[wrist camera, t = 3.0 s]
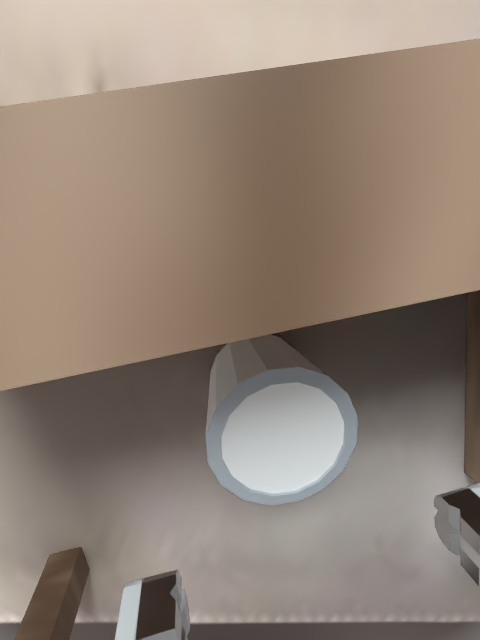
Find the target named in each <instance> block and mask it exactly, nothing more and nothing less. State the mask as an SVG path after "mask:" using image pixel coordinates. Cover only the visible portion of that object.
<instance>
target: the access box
mask: <svg viewBox="0 0 480 640" xmlns="http://www.w3.org/2000/svg"><path fill="white" fill-rule="evenodd" d="M463 293H467V344H466V406H465V468H464V472H465V473H466V474H467V475H468V476H469V477H470V478H472V479H473V480H474V481H475V482H476V483H477V484H478V483H480V39H474V40H467V41H460V42H453V43H446V44H439V45H432V46H425V47H418V48H411V49H404V50H397V51H390V52H383V53H376V54H368V55H361V56H354V57H347V58H340V59H333V60H326V61H319V62H312V63H305V64H298V65H291V66H284V67H277V68H270V69H263V70H256V71H249V72H242V73H235V74H228V75H220V76H213V77H206V78H199V79H192V80H185V81H178V82H171V83H164V84H157V85H150V86H143V87H136V88H129V89H122V90H115V91H108V92H101V93H94V94H87V95H80V96H73V97H65V98H58V99H51V100H44V101H37V102H30V103H23V104H16V105H9V106H2V107H0V391H3V390H8V389H13V388H17V387H22V386H27V385H32V384H36V383H41V382H46V381H50V380H55V379H60V378H65V377H69V376H74V375H79V374H84V373H88V372H93V371H98V370H103V369H107V368H112V367H117V366H122V365H126V364H131V363H136V362H141V361H145V360H150V359H155V358H160V357H164V356H169V355H174V354H179V353H183V352H188V351H193V350H198V349H202V348H207V347H212V346H216V345H221V344H226V343H231V342H235V341H240V340H245V339H250V338H254V337H259V336H264V335H269V334H273V333H278V332H283V331H288V330H292V329H297V328H302V327H307V326H311V325H316V324H321V323H326V322H330V321H335V320H340V319H345V318H349V317H354V316H359V315H363V314H368V313H373V312H378V311H382V310H387V309H392V308H397V307H401V306H406V305H411V304H416V303H420V302H425V301H430V300H435V299H439V298H444V297H449V296H454V295H458V294H463ZM88 573H89V567H88V565H87V562H86V560H85V557H84V555H83V552H82V549H81V547H80V548H76V549H72V550H68V551H64V552H60V553H56V554H52V555H50V556H49V558H48V561H47V563H46V565H45V568H44V570H43V573H42V575H41V577H40V580H39V582H38V584H37V587H36V589H35V592H34V594H33V596H32V599H31V601H30V603H29V606H28V608H27V611H26V613H25V615H24V618H23V620H22V622H21V625H20V627H19V630H18V632H17V634H16V637H15V639H14V640H69V638H70V635H71V632H72V628H73V625H74V621H75V618H76V614H77V611H78V607H79V604H80V600H81V597H82V593H83V590H84V586H85V583H86V579H87V576H88Z"/></svg>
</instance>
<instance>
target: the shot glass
mask: <svg viewBox="0 0 480 640" xmlns="http://www.w3.org/2000/svg"><path fill="white" fill-rule="evenodd" d="M357 428H358V417H357V414H356V412H355V409H354V407H353V404H352V402H351V399H350V397H349V394H348V393H347V392H346V391H345V390H343V389H342V388H341V387H340V386H339V385H338V384H337V383H336V382H334V381H333V380H332V379H331V378H330V377H329V376H328V375H326V374H325V373H324V372H323V371H321V370H320V369H319V368H318V367H316V366H315V365H314V364H313V363H311V362H310V361H309V360H308V359H306V358H305V357H304V356H302V355H301V354H300V353H299V352H297V351H296V350H295V349H294V348H292V347H291V346H290V345H289V344H287V343H286V342H285V341H284V340H282V339H281V338H280V337H277V336H274V335H271V334H269V335H264V336H259V337H254V338H250V339H245V340H240V341H235V342H231V343H227V344H226V345H225V346H224V347H223V348H222V349H221V350H220V352H219V353H218V354H217V355H216V358H215V360H214V363H213V366H212V369H211V372H210V385H209V397H208V410H207V423H206V435H205V436H206V449H207V463H208V464H209V466H210V468H211V469H212V471H213V473H214V474H215V476H216V478H217V479H218V481H219V483H220V484H221V486H223V487H224V488H226V489H227V490H229V491H230V492H232V493H233V494H235V495H236V496H238V497H239V498H241V499H242V500H245V501H250V502H255V503H260V504H265V505H277V504H284V503H291V502H298V501H300V500H302V499H304V498H306V497H309V496H311V495H313V494H315V493H317V492H319V491H321V490H323V489H325V488H326V487H327V486H328V485H329V484H330V483H331V482H332V481H333V480H334V479H335V478H336V477H337V476H338V475H339V474H340V473H341V472H342V471H343V470H344V469H345V467H346V465H347V463H348V461H349V459H350V457H351V455H352V453H353V450H354V448H355V446H356V444H357Z"/></svg>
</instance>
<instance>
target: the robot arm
mask: <svg viewBox="0 0 480 640" xmlns="http://www.w3.org/2000/svg"><path fill="white" fill-rule="evenodd" d="M434 506H435V507H436V509H437V510H438V512H437V514H436V515H435V517H434V520H435V528H436V530H437V533H438V535H439V537H440V539H441V541H442V542H443V544H444V545H445V546H446V547H447V549H448V550H449V551H450V552H452V553H454V554H456V555H458V556H460V562H461V566H462V567H463V568H464V569H465V570H466V571H467V573H468V574H469V575H470V576H471V577H472V579H473V580H474V581H475V582H476V583H477V585H478V586H480V483H478V484H475V485H471V486H468V487H465V488H460V489H457V490H453V491H450V492H447V493H443V494H440V495H437V496H436V497H435V498H434ZM189 631H190V617H189V607H188V601H187V596H186V592H185V590H184V589H183V588H182V578H181V575H180V572H179V570H174V571H170V572H166V573H162V574H158V575H154V576H150V577H146V578H143V579H139V580H136V581H132V582H128V583H126V584H125V587H124V589H123V594H122V600H121V605H120V611H119V617H118V623H117V629H116V635H115V640H187V634H188V632H189Z"/></svg>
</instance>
